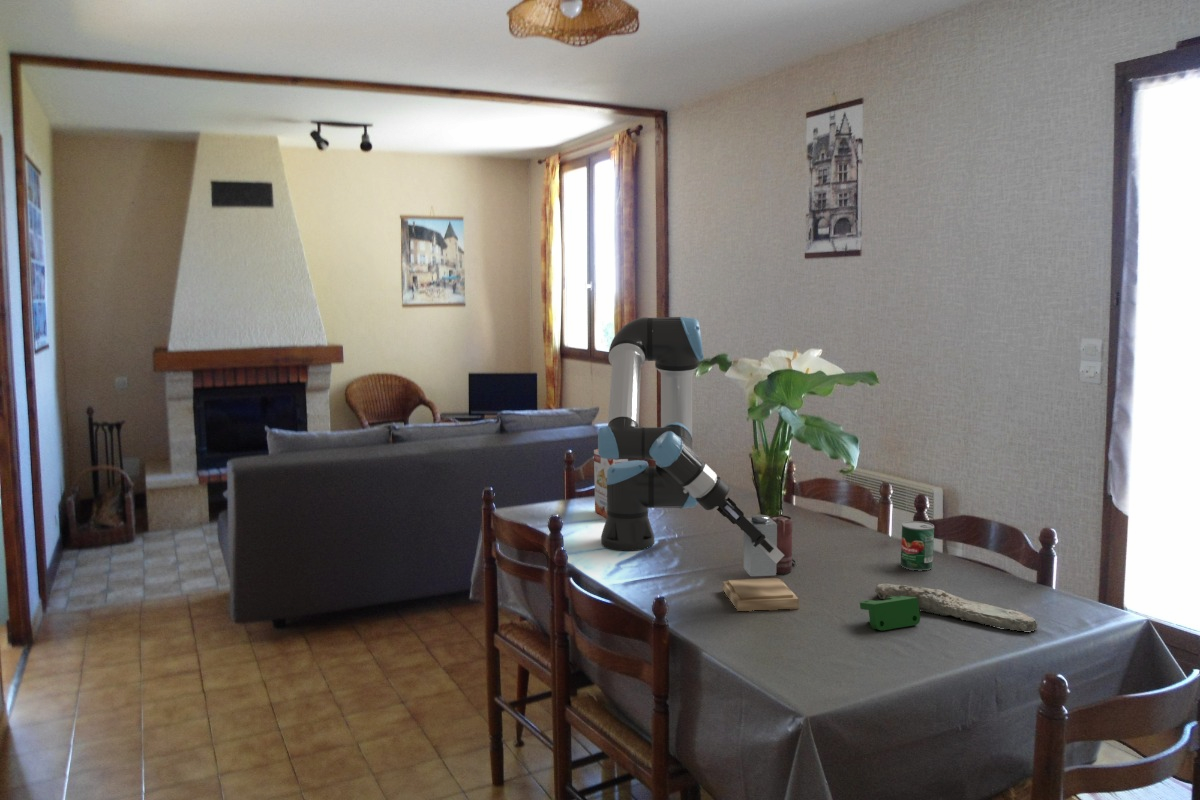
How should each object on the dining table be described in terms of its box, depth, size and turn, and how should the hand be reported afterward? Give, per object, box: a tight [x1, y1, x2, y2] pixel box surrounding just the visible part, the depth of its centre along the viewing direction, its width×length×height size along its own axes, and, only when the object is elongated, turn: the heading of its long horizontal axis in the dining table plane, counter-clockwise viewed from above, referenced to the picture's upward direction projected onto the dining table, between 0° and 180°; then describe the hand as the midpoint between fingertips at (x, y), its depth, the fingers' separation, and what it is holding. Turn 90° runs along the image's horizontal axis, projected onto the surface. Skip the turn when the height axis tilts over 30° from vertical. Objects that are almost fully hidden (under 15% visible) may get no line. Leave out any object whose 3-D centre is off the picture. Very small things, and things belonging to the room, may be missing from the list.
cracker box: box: [593, 448, 629, 519], centre depth 284 cm, size 14×6×21 cm, turn 25°
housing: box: [743, 514, 777, 577], centre depth 206 cm, size 6×6×13 cm
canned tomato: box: [900, 520, 935, 572], centre depth 231 cm, size 8×8×11 cm
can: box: [769, 514, 793, 575], centre depth 228 cm, size 6×6×14 cm
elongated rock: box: [874, 583, 1039, 632], centre depth 198 cm, size 35×5×10 cm
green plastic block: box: [859, 596, 921, 631], centre depth 192 cm, size 12×6×9 cm, turn 104°
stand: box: [722, 577, 800, 612], centre depth 208 cm, size 14×14×3 cm
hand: (775, 554), depth 207 cm, fingers closed on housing, 6 cm apart
